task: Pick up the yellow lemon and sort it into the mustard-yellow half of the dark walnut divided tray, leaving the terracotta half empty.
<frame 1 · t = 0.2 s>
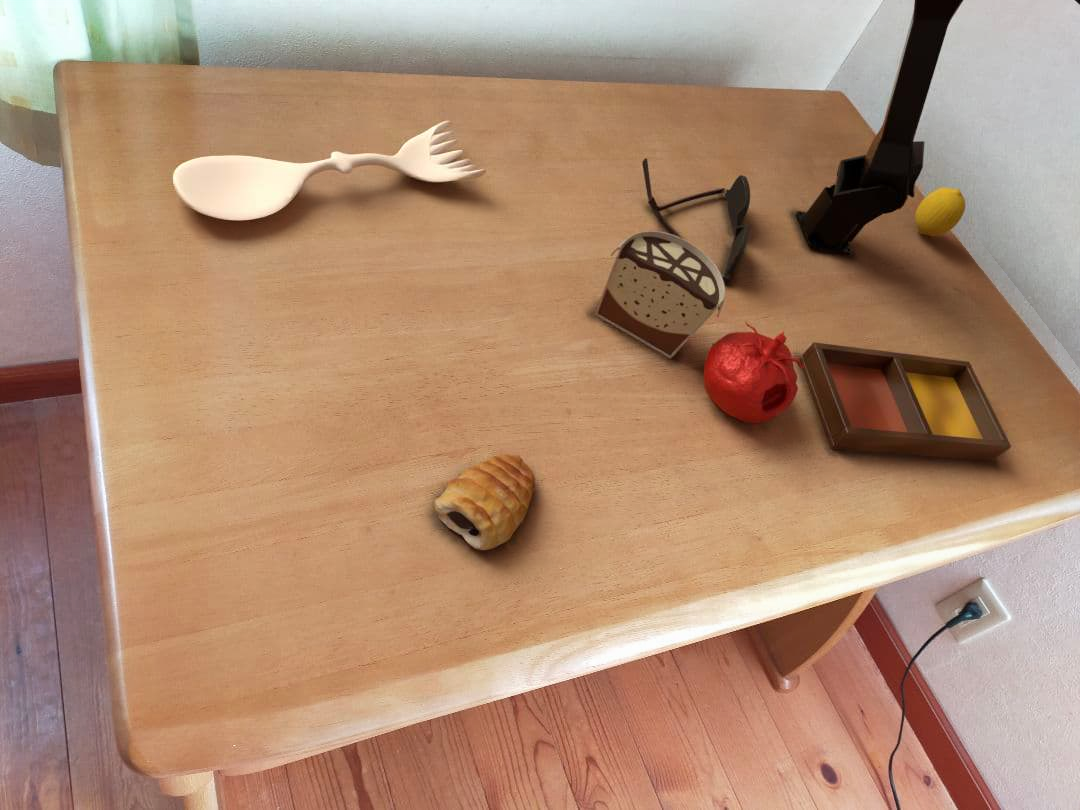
sorting tray: (895, 410, 100), on the table
pomegranate: (733, 395, 93), on the table
pastry: (481, 508, 76), on the table
sunglasses: (682, 223, 108), on the table
lemon: (919, 234, 124), on the table
spoon: (332, 186, 92), on the table
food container: (641, 320, 95), on the table
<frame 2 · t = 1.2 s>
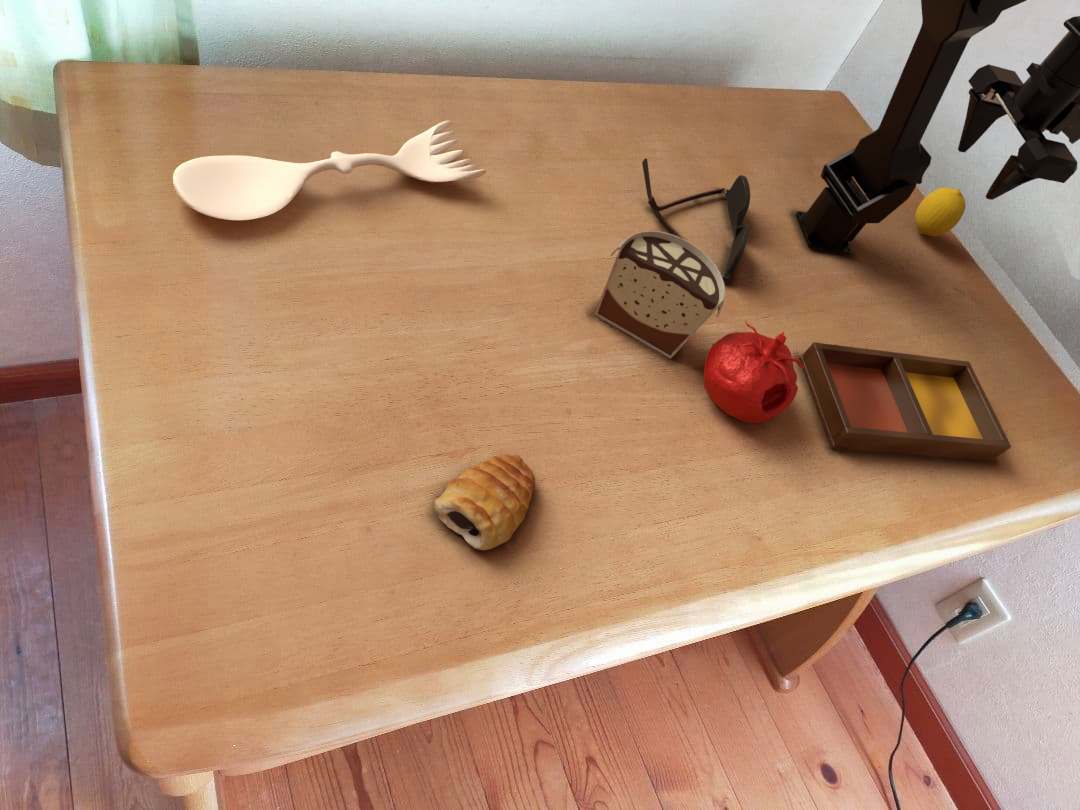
hand: (974, 174, 115), 11 cm above the table, tool pointing down, fingers open, 9 cm apart
nothing on the table moved.
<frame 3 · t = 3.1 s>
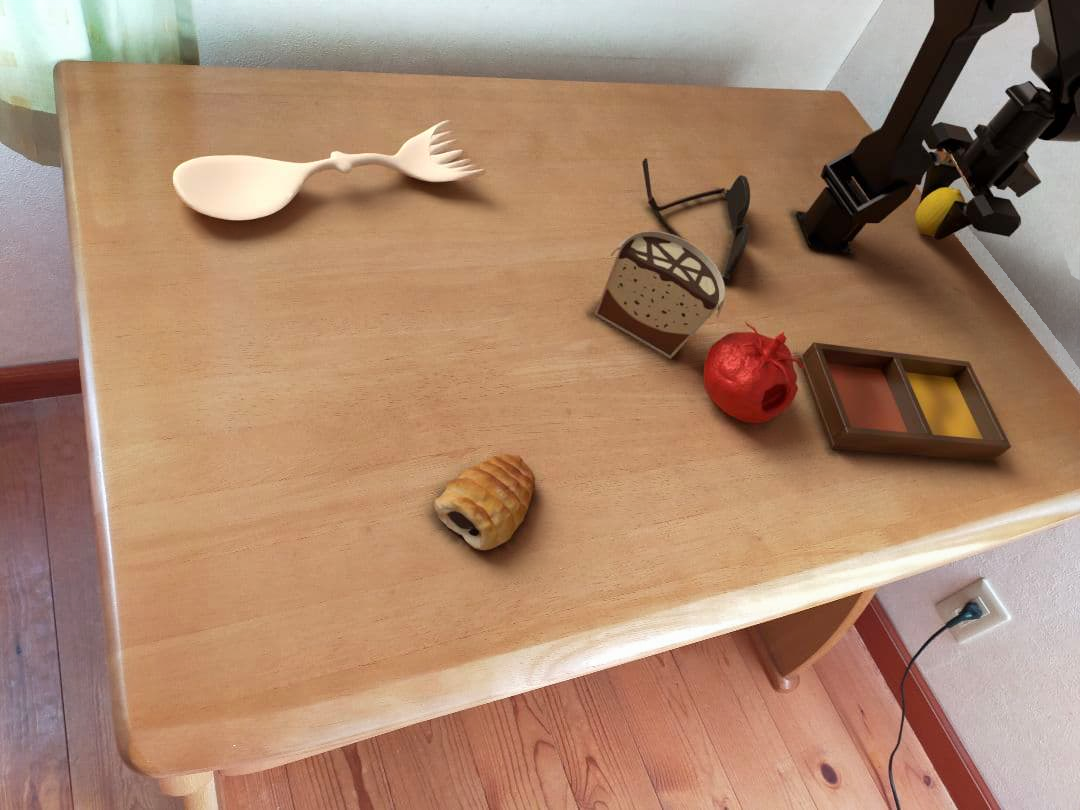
hand: (929, 224, 122), 2 cm above the table, tool pointing down, fingers closed on lemon, 5 cm apart
lemon: (919, 234, 124), on the table, touching gripper
everything else where it was.
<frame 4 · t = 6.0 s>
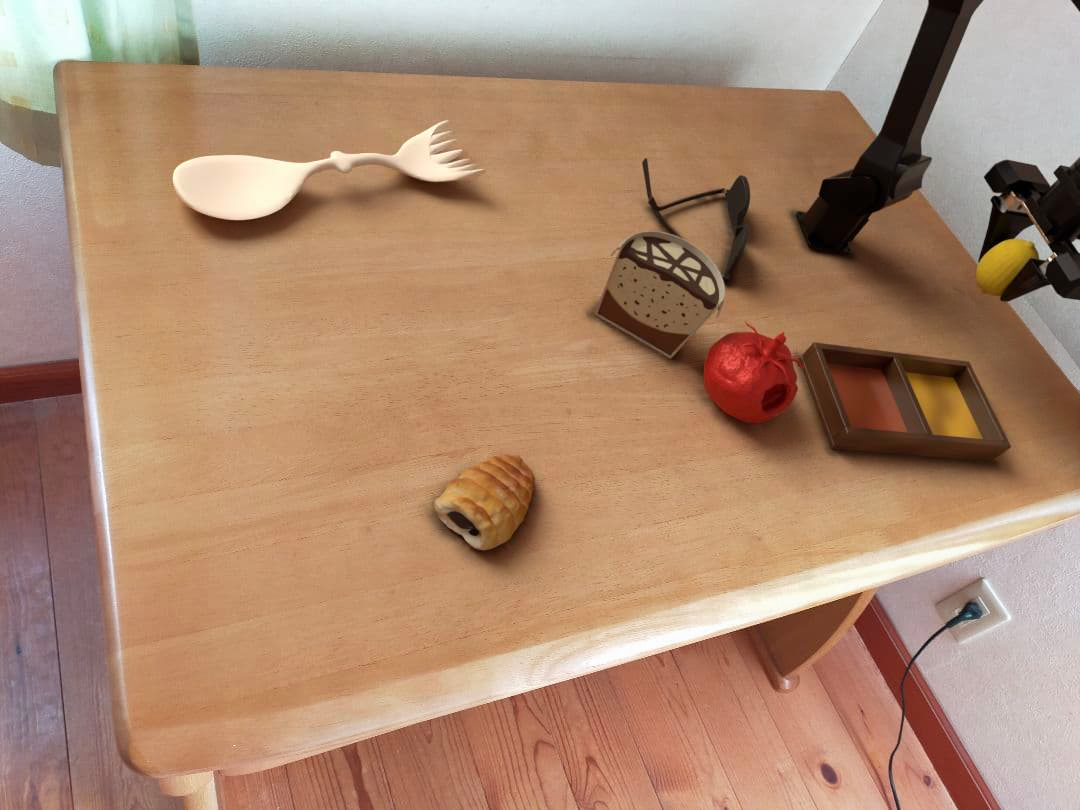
hand: (992, 281, 101), 11 cm above the table, tool pointing down, fingers closed on lemon, 5 cm apart
lemon: (980, 293, 103), point 9 cm above the table, touching gripper
everything else where it was.
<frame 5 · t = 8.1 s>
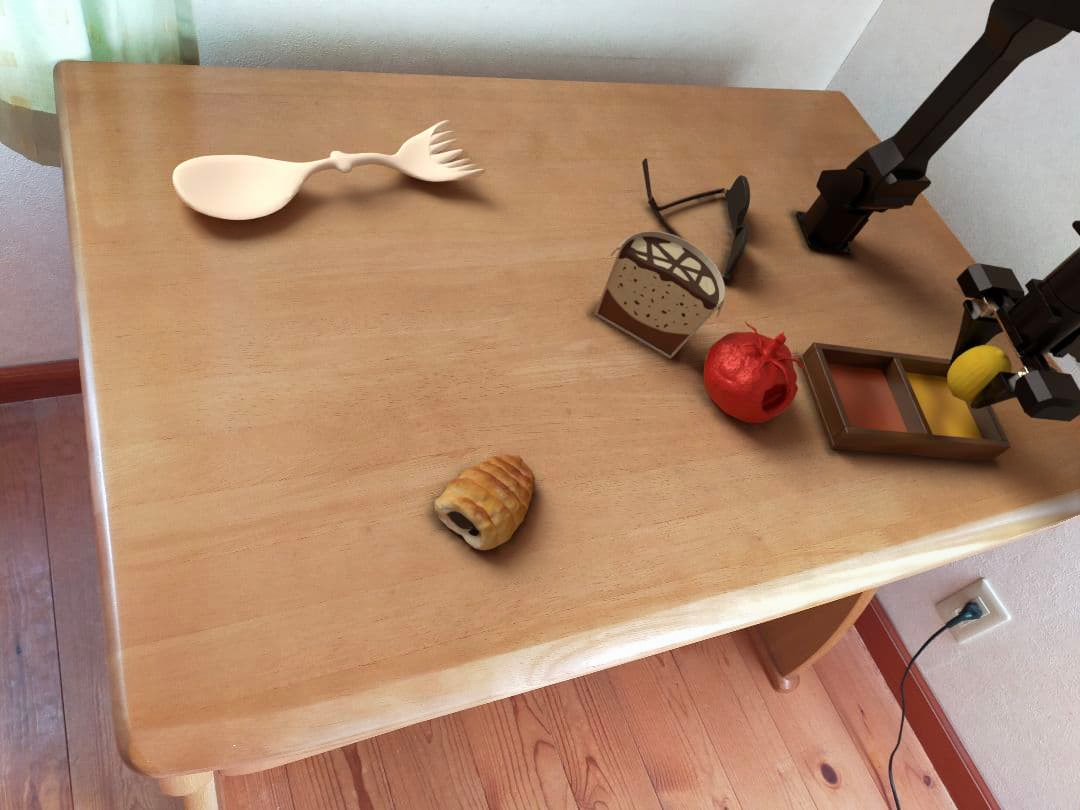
hand: (963, 386, 98), 5 cm above the table, tool pointing down, fingers closed on lemon, 5 cm apart
lemon: (952, 396, 99), point 3 cm above the table, touching gripper
everything else where it was.
when the fingers open (3 cm above the table, at t = 9.4 s): lemon stays where it is, resting on sorting tray.
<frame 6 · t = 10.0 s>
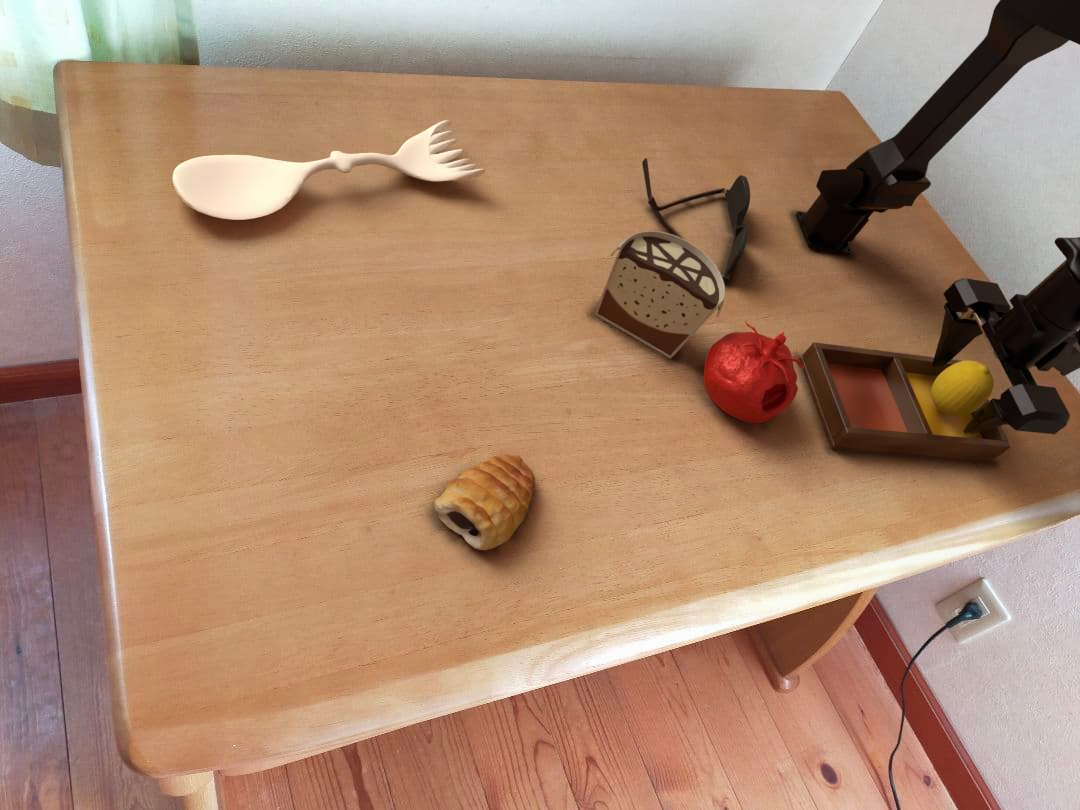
hand: (951, 398, 99), 3 cm above the table, tool pointing down, fingers open, 9 cm apart
lemon: (936, 410, 101), point 1 cm above the table, touching sorting tray
everything else where it was.
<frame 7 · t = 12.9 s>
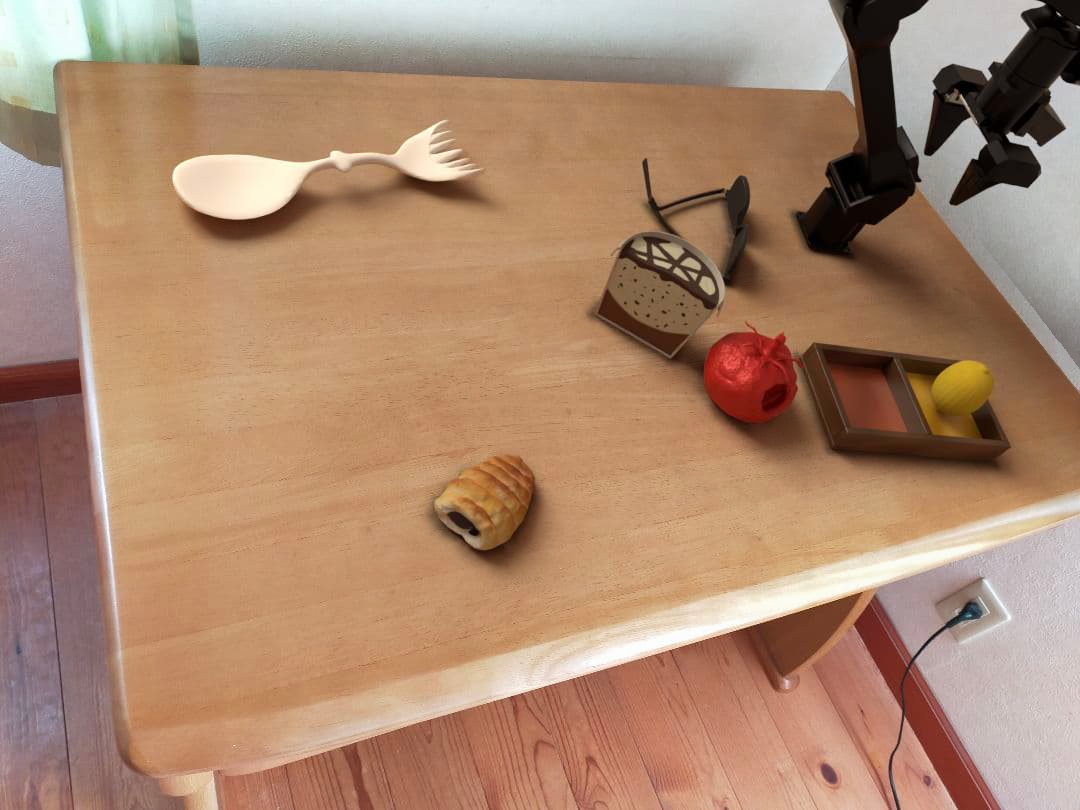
hand: (939, 179, 110), 12 cm above the table, tool pointing down, fingers open, 9 cm apart
nothing on the table moved.
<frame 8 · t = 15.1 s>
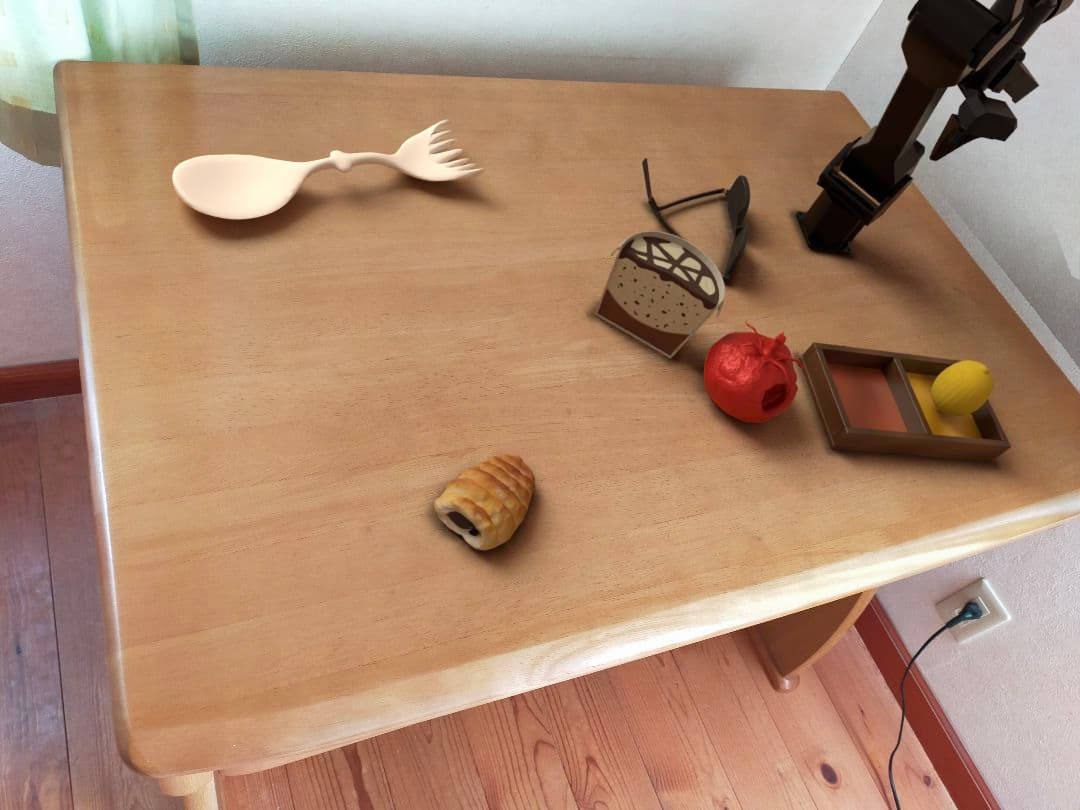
hand: (919, 136, 114), 12 cm above the table, tool pointing down, fingers open, 9 cm apart
nothing on the table moved.
at the end: lemon inside the target area on the sorting tray (0.2 cm from its centre), point 0.6 cm above the sorting tray's base; the gripper is holding nothing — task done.
